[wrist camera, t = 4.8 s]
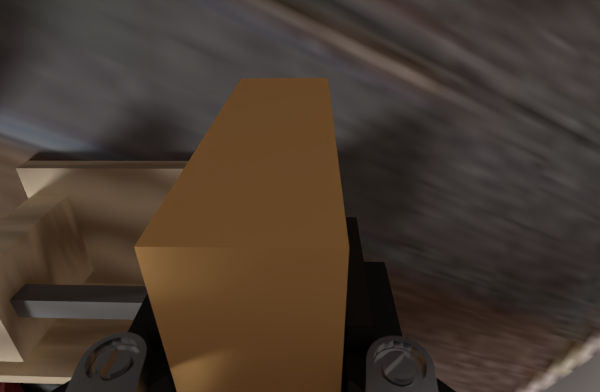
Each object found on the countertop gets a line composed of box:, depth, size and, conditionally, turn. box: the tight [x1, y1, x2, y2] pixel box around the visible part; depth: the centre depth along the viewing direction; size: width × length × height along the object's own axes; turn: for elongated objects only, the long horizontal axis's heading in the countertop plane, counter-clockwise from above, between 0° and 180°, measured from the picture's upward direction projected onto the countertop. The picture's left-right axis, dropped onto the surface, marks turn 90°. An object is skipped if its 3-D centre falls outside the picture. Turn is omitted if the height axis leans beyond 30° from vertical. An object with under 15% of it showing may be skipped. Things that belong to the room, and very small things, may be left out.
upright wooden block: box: [134, 78, 349, 392], centre depth 12 cm, size 8×3×10 cm, turn 1°
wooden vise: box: [0, 161, 188, 384], centre depth 30 cm, size 13×23×12 cm, turn 91°
